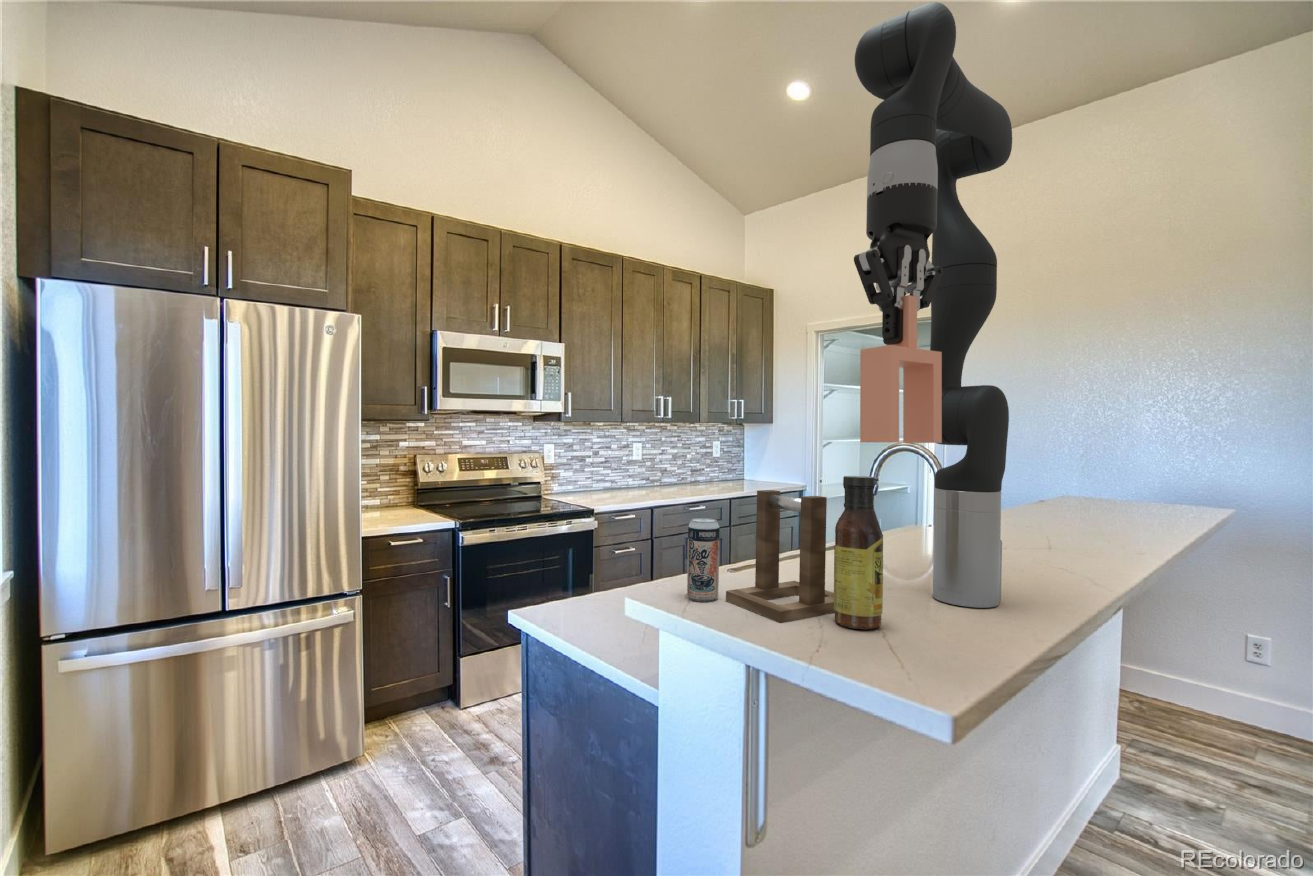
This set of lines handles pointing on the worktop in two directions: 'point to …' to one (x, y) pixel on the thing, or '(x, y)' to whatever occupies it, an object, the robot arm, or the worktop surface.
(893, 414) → the orange arch with tab
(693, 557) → the beer can
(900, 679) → the worktop surface
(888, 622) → the worktop surface
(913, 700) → the worktop surface
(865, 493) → the sauce bottle
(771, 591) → the brown wooden post stand
